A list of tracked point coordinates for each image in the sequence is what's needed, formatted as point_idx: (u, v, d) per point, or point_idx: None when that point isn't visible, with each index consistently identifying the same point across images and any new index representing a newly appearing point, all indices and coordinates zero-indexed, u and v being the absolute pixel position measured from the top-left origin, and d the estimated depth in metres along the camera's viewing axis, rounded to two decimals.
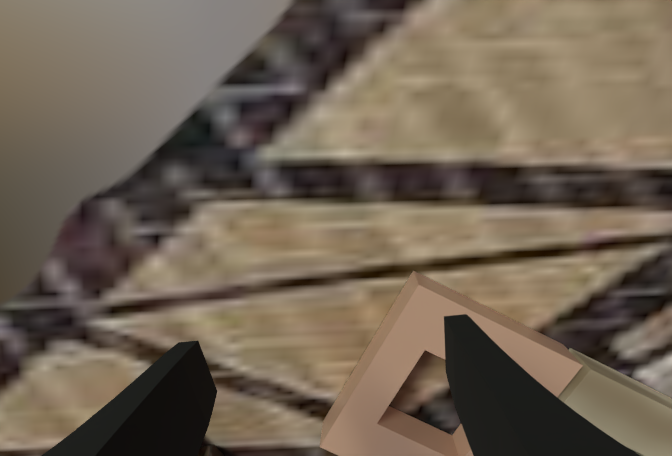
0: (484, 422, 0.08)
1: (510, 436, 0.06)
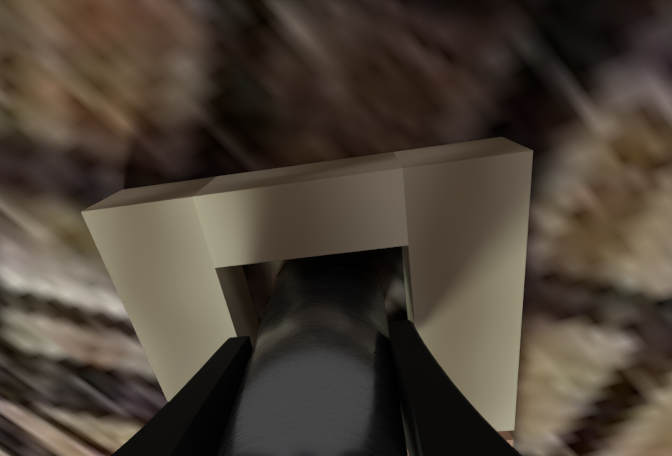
0: (410, 427, 0.08)
1: (419, 442, 0.06)
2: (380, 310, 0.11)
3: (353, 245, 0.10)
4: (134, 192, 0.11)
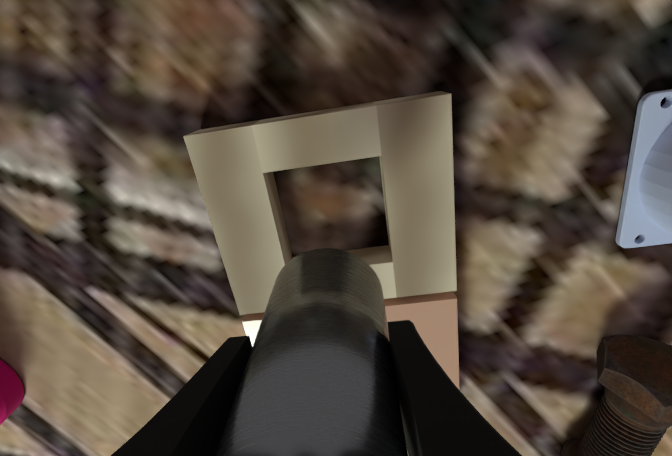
0: (410, 427, 0.08)
1: (419, 442, 0.06)
2: (380, 309, 0.11)
3: (348, 156, 0.17)
4: (210, 129, 0.18)
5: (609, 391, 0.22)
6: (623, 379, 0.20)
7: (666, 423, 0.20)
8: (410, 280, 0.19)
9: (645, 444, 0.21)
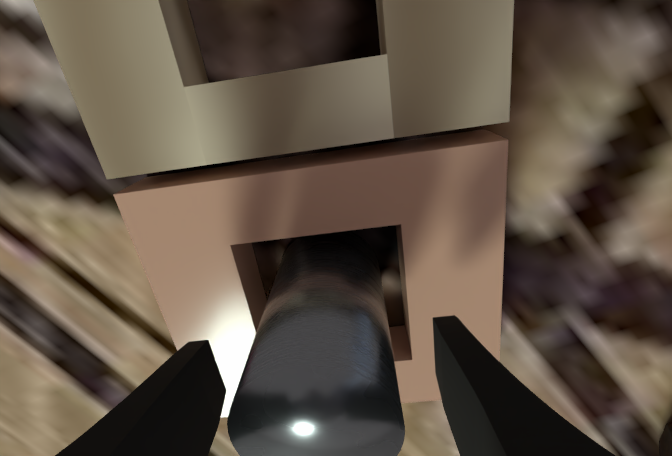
0: (469, 423, 0.08)
1: (492, 437, 0.06)
2: (376, 279, 0.12)
3: None
4: None
5: None
6: None
7: None
8: (421, 98, 0.10)
9: None
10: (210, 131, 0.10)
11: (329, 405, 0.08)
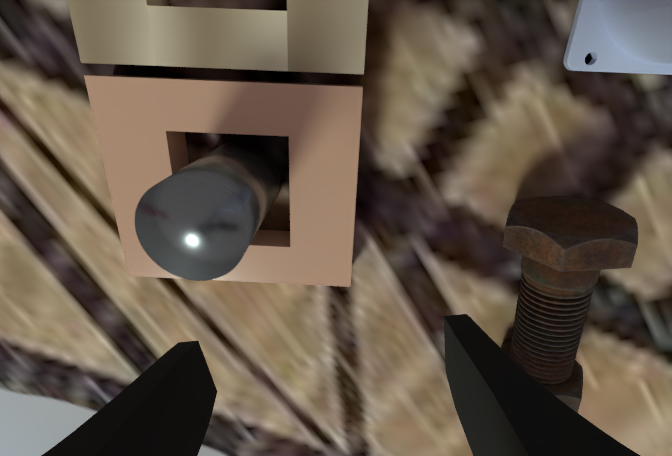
0: (484, 422, 0.08)
1: (510, 436, 0.06)
2: (268, 175, 0.17)
3: None
4: None
5: (523, 261, 0.19)
6: (523, 231, 0.17)
7: (583, 281, 0.17)
8: (307, 46, 0.15)
9: (567, 315, 0.18)
10: (161, 41, 0.15)
11: (200, 211, 0.13)
